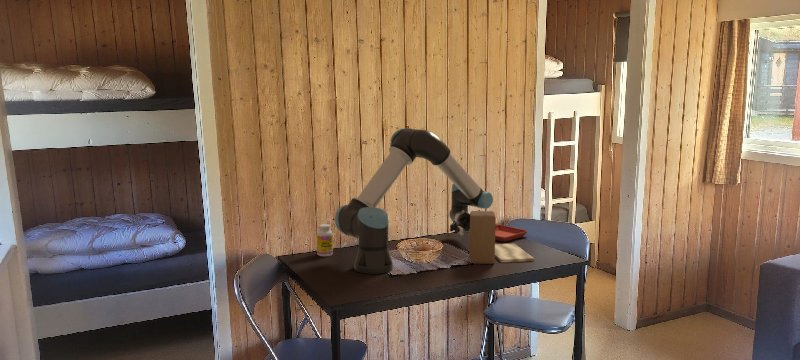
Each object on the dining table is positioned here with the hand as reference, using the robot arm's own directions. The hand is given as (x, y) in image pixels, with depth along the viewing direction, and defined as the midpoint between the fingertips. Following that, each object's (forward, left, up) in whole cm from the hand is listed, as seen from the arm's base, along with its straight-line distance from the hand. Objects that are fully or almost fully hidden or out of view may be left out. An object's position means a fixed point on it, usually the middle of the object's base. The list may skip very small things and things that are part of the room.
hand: (478, 231), depth 259 cm
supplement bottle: (-63, +14, -11) cm, 65 cm away
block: (0, -6, -11) cm, 13 cm away
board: (+14, +3, -11) cm, 18 cm away
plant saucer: (+21, +33, -12) cm, 40 cm away
